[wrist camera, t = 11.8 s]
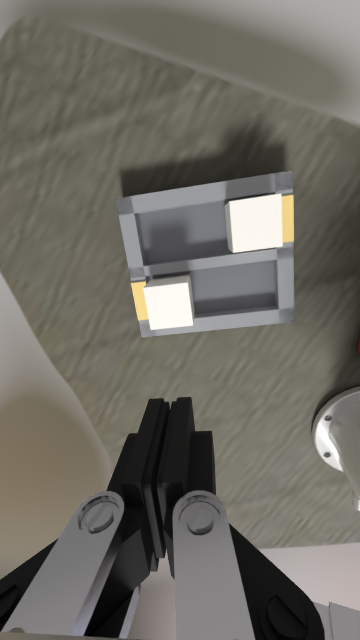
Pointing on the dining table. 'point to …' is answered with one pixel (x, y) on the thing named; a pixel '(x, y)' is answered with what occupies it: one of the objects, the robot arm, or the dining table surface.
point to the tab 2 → (254, 223)
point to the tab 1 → (169, 302)
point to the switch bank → (210, 253)
